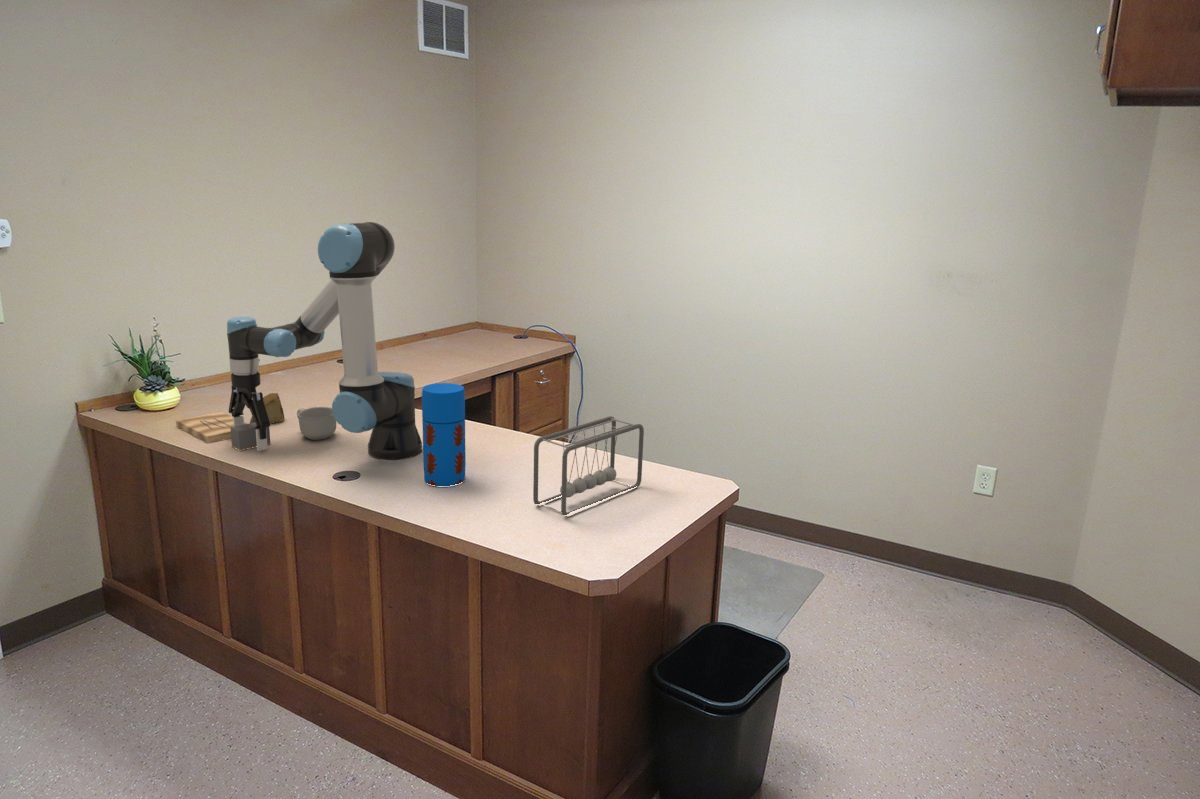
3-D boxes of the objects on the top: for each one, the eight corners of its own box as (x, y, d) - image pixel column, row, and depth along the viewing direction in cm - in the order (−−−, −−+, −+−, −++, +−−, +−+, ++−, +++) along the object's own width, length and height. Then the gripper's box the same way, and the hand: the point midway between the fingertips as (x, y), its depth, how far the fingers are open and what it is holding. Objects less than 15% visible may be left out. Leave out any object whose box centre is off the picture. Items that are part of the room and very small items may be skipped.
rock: (246, 422, 250) (280, 416, 252) (243, 396, 253) (277, 391, 255) (254, 433, 260) (287, 428, 262) (251, 409, 263) (284, 403, 265)
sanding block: (270, 444, 238) (269, 424, 237) (240, 451, 232) (238, 431, 230) (262, 440, 241) (260, 421, 240) (232, 447, 235) (230, 427, 233)
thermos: (446, 490, 208) (444, 395, 201) (415, 481, 213) (412, 388, 207) (474, 478, 217) (473, 387, 210) (443, 470, 222) (442, 380, 216)
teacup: (344, 437, 246) (342, 411, 244) (310, 445, 239) (308, 418, 237) (320, 427, 255) (319, 402, 253) (287, 434, 248) (285, 408, 246)
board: (255, 433, 247) (254, 426, 247) (208, 443, 237) (207, 436, 237) (222, 417, 261) (221, 411, 261) (176, 426, 251) (175, 420, 251)
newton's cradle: (563, 520, 193) (565, 448, 188) (532, 507, 200) (533, 438, 195) (641, 487, 215) (645, 422, 210) (611, 477, 222) (613, 414, 217)
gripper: (279, 378, 226) (284, 451, 231) (237, 362, 241) (243, 431, 247) (253, 382, 220) (259, 457, 226) (212, 366, 236) (218, 436, 242)
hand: (251, 443), depth 236 cm, fingers open, 13 cm apart
